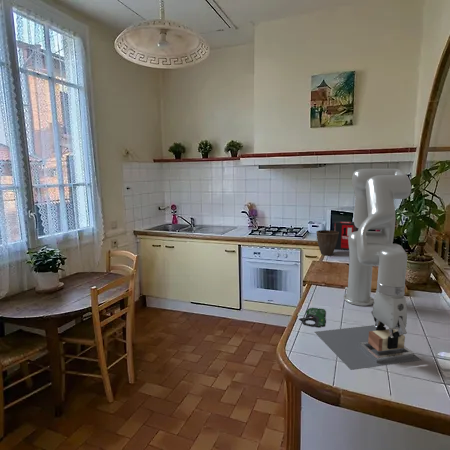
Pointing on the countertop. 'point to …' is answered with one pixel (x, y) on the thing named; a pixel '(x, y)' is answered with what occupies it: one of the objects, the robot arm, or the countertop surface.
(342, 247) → the cleaning product box
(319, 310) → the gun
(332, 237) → the plant pot
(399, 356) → the metal frame
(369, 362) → the rubber mat
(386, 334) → the maple block
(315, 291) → the countertop surface
